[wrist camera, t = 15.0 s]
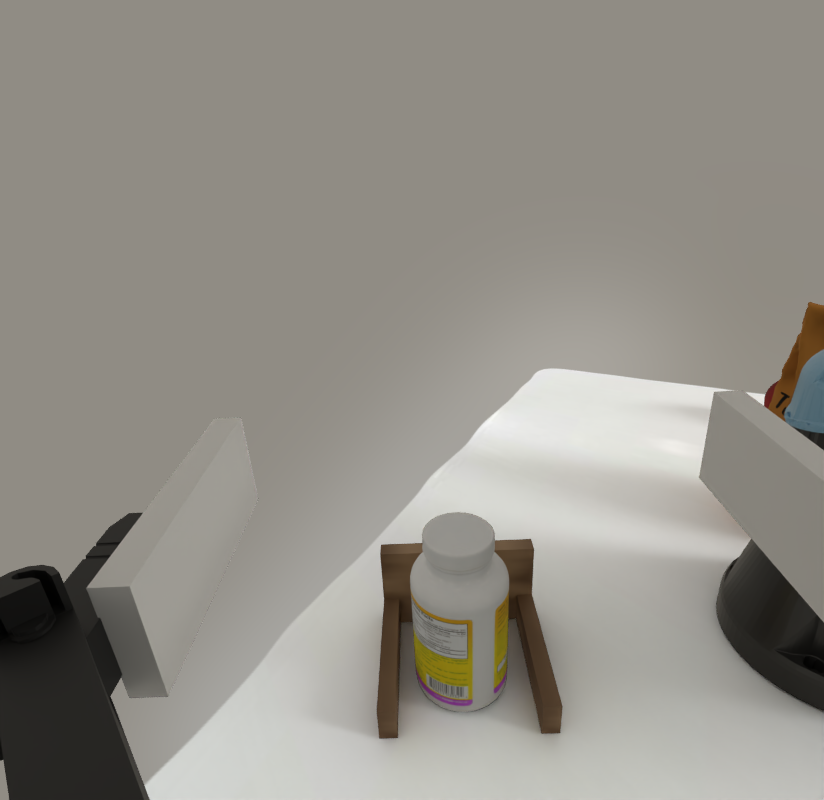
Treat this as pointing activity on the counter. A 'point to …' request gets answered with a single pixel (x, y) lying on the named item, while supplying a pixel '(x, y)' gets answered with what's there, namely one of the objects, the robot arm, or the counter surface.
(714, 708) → the counter surface
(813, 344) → the coffee package
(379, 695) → the u-shaped wooden bracket
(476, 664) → the supplement bottle
